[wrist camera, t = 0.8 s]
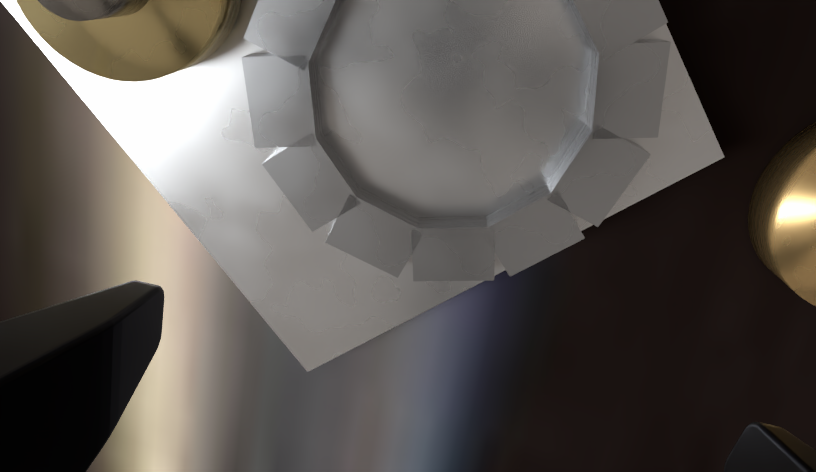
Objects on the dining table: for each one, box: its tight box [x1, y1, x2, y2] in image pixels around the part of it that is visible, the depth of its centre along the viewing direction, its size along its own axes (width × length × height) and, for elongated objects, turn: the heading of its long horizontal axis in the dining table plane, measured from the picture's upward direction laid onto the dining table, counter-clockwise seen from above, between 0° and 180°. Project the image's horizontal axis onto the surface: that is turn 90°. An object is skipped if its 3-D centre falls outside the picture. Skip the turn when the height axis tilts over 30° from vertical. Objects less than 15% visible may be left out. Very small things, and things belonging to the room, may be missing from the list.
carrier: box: [0, 0, 724, 372], centre depth 17 cm, size 19×17×5 cm
